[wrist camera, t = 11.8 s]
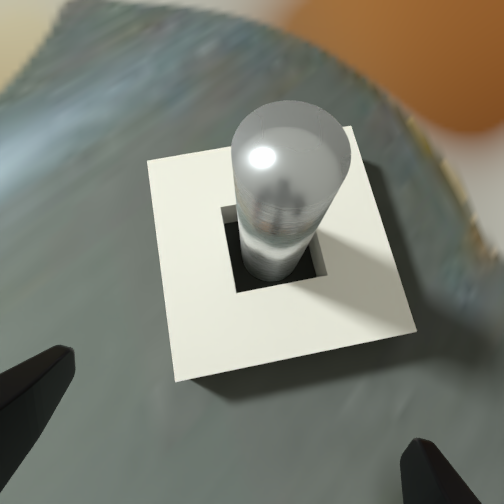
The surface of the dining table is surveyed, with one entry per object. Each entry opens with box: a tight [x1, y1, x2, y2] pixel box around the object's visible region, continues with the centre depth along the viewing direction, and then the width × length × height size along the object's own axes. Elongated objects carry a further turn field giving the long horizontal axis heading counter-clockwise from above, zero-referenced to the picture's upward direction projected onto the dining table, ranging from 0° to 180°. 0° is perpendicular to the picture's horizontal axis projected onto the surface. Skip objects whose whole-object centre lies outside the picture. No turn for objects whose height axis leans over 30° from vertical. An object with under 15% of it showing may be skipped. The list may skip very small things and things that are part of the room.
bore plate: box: [147, 126, 417, 382], centre depth 22 cm, size 14×14×3 cm
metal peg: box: [231, 100, 351, 282], centre depth 17 cm, size 4×4×13 cm
